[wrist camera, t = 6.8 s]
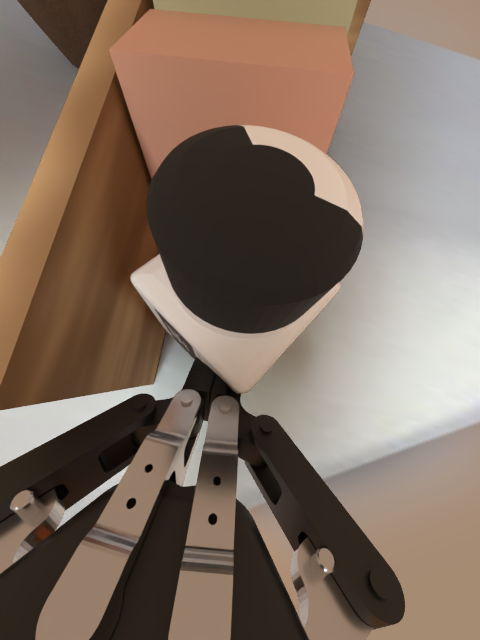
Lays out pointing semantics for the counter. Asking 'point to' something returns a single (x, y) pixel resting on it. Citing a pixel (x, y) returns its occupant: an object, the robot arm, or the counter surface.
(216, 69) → the book
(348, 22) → the book
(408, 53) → the counter surface
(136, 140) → the wooden book rack
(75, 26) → the plant pot
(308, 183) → the container
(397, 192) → the counter surface
